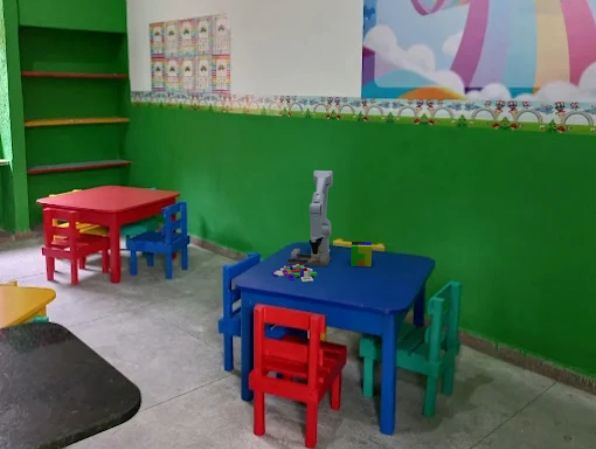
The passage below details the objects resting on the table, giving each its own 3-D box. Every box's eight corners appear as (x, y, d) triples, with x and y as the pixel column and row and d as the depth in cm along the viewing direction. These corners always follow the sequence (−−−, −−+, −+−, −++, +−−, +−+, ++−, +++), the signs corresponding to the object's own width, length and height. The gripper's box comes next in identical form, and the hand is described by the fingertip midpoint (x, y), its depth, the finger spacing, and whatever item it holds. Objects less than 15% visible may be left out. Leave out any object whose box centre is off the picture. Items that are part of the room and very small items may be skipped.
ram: (294, 255, 319) (294, 248, 319) (300, 256, 319) (300, 248, 318) (291, 260, 312) (291, 252, 311) (296, 260, 311) (296, 253, 310)
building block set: (269, 268, 306) (269, 259, 305) (310, 266, 309) (310, 257, 308) (275, 284, 282) (275, 275, 281) (319, 282, 285) (319, 272, 284)
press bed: (292, 257, 322) (292, 247, 321) (330, 259, 318) (330, 249, 316) (287, 264, 311) (287, 253, 309) (326, 266, 306) (326, 256, 305)
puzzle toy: (370, 260, 317) (371, 241, 314) (371, 266, 307) (371, 247, 305) (351, 260, 318) (351, 241, 315) (351, 265, 308) (351, 246, 306)
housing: (313, 254, 315) (313, 244, 314) (321, 254, 314) (321, 245, 313) (311, 256, 311) (311, 246, 310) (320, 257, 310) (320, 247, 309)
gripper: (321, 230, 301) (321, 257, 304) (326, 223, 315) (326, 249, 318) (307, 229, 303) (307, 256, 306) (313, 222, 317) (312, 248, 320)
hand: (316, 252), depth 312 cm, fingers closed on housing, 4 cm apart
